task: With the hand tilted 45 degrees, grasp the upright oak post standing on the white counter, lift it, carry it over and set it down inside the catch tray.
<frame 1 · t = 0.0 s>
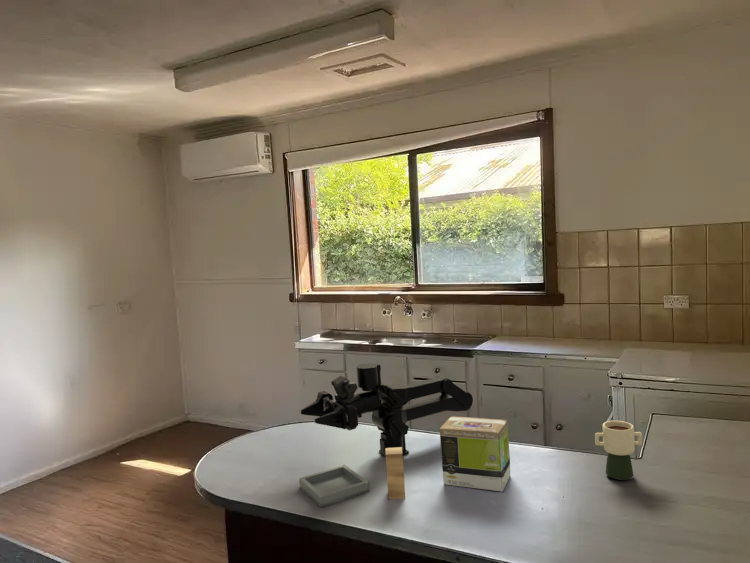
hand: (307, 416, 151), 17 cm above the counter, tool horizontal, fingers open, 9 cm apart
oak post: (396, 494, 140), on the counter
catch tray: (334, 489, 145), on the counter
character mug: (619, 477, 141), on the counter
tea box: (477, 481, 145), on the counter
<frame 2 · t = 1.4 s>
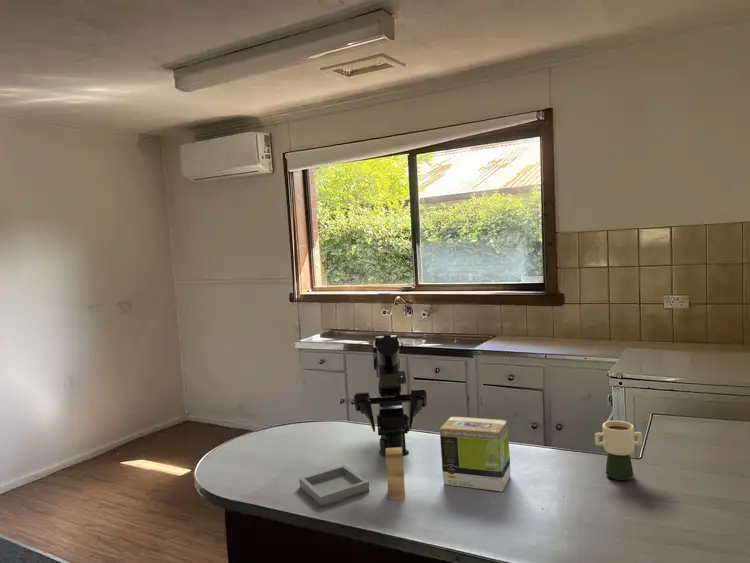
hand: (392, 430, 146), 13 cm above the counter, tool tilted 45°, fingers open, 9 cm apart
nothing on the counter moved.
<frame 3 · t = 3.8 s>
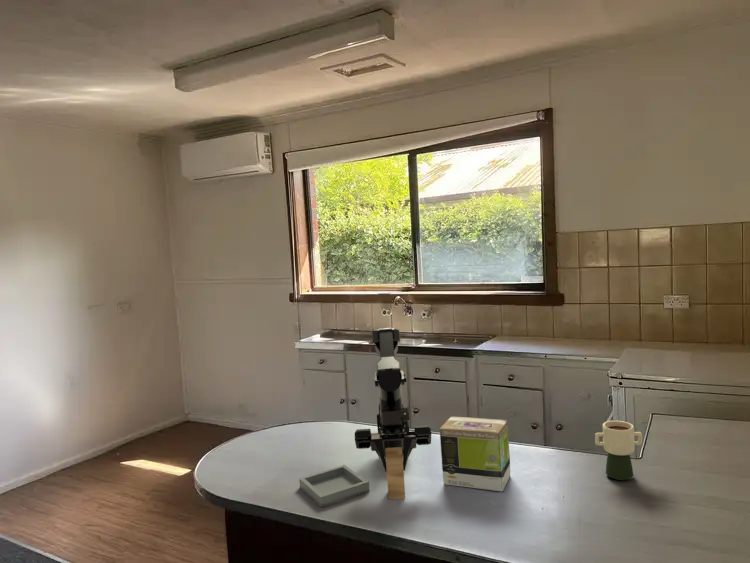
hand: (395, 470, 138), 7 cm above the counter, tool tilted 45°, fingers closed on oak post, 4 cm apart
oak post: (396, 494, 140), on the counter, touching gripper
everything else where it was.
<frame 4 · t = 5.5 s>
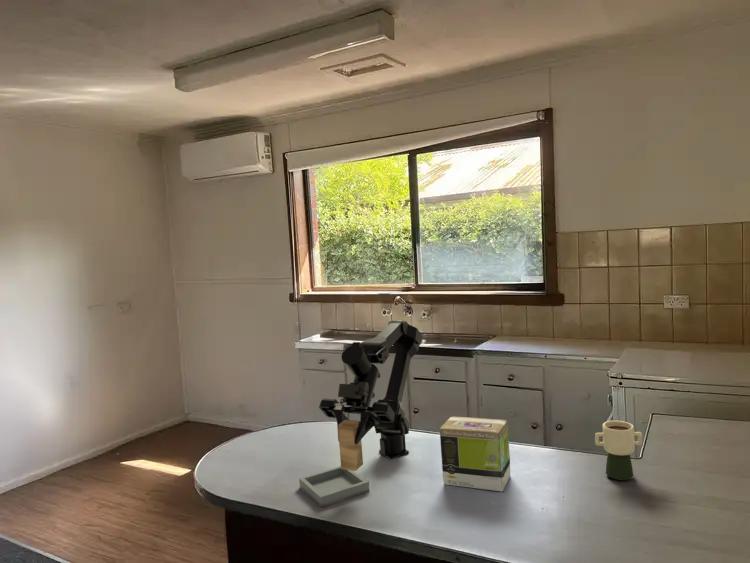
hand: (347, 442, 140), 13 cm above the counter, tool tilted 45°, fingers closed on oak post, 4 cm apart
oak post: (352, 466, 141), point 7 cm above the counter, touching gripper
everything else where it was.
when the fingers open (8 cm above the counter, at t = 7.1 s): oak post drops 1 cm, resting on catch tray.
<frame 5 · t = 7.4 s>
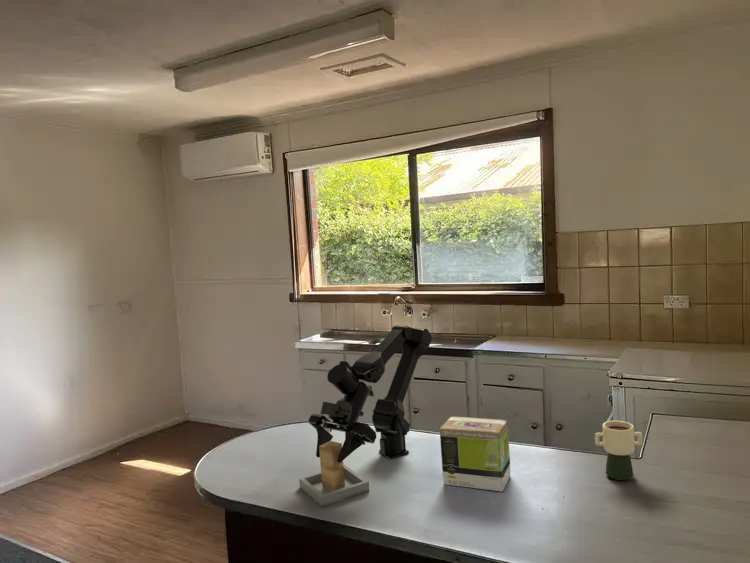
hand: (327, 459, 143), 8 cm above the counter, tool tilted 45°, fingers open, 7 cm apart
oak post: (333, 487, 145), point 1 cm above the counter, touching catch tray
everything else where it was.
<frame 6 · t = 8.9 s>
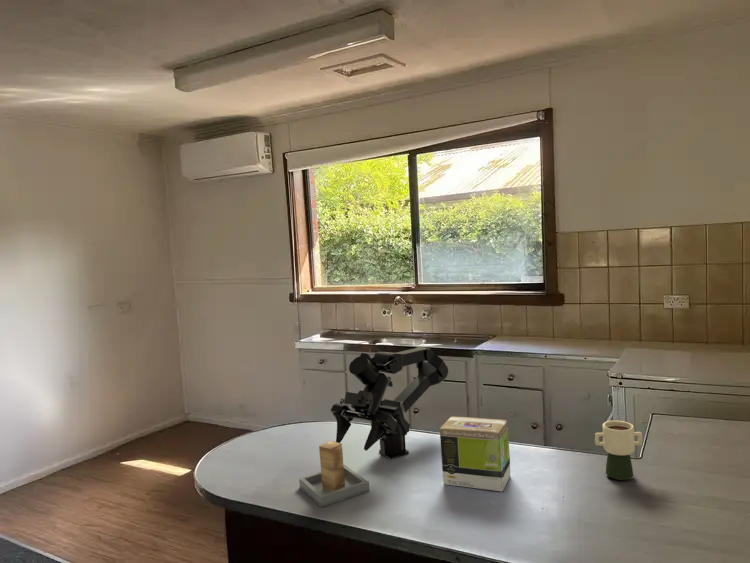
hand: (350, 446, 150), 8 cm above the counter, tool tilted 45°, fingers open, 9 cm apart
nothing on the counter moved.
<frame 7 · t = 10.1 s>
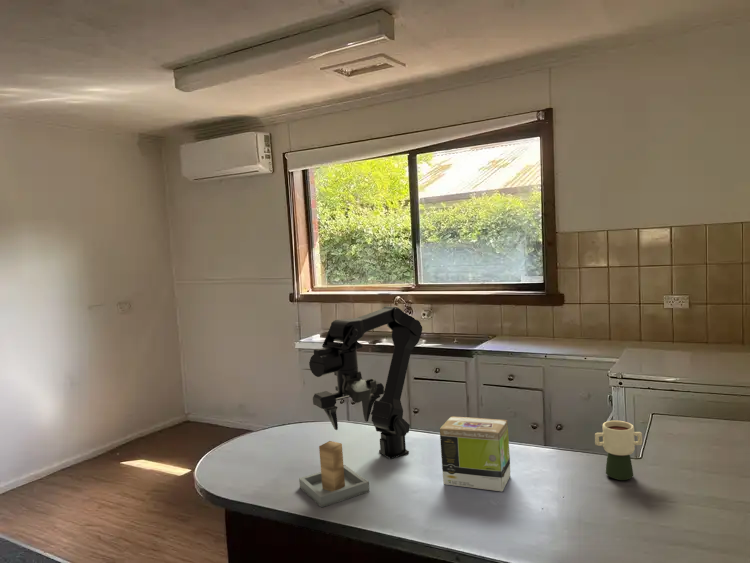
hand: (351, 425, 153), 13 cm above the counter, tool pointing down, fingers open, 9 cm apart
nothing on the counter moved.
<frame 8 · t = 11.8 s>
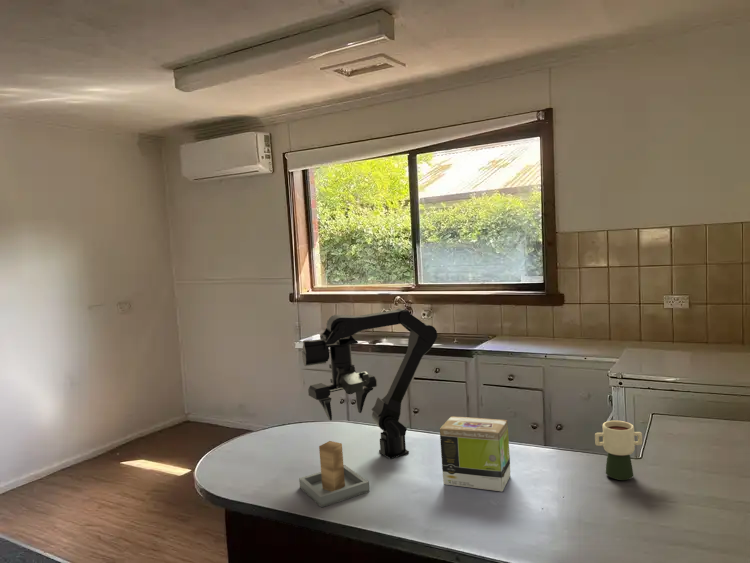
hand: (345, 416, 160), 13 cm above the counter, tool pointing down, fingers open, 9 cm apart
nothing on the counter moved.
at the end: oak post inside the target area on the catch tray (0.0 cm from its centre), point 0.6 cm above the catch tray's base; oak post tilted 0°; the gripper is holding nothing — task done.
